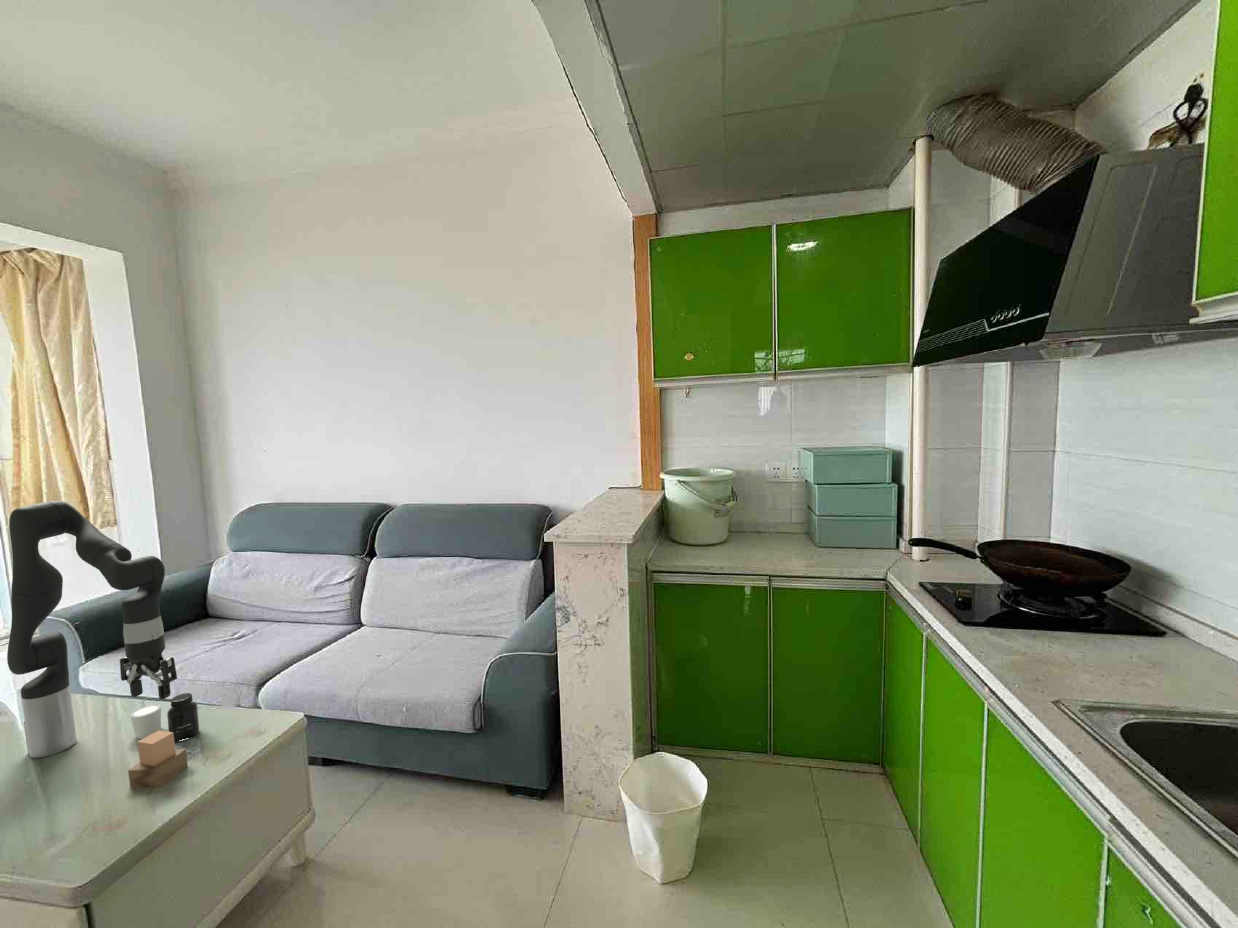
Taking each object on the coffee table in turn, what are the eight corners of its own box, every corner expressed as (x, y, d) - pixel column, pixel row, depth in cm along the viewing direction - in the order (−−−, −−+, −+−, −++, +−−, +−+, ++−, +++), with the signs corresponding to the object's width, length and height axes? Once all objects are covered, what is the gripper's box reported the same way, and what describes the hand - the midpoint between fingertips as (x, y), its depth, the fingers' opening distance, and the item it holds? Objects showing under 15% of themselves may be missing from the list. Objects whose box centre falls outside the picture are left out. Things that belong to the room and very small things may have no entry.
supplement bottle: (182, 744, 150) (178, 704, 149) (163, 742, 151) (159, 702, 150) (205, 730, 157) (201, 691, 155) (187, 728, 158) (183, 690, 157)
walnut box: (130, 789, 132) (128, 770, 132) (157, 767, 140) (155, 750, 140) (162, 787, 132) (160, 768, 132) (187, 766, 140) (185, 748, 140)
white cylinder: (161, 734, 155) (159, 711, 155) (130, 742, 151) (127, 719, 151) (165, 723, 161) (162, 701, 160) (135, 731, 157) (132, 709, 156)
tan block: (140, 763, 134) (137, 741, 134) (161, 751, 139) (158, 730, 138) (155, 766, 133) (152, 744, 132) (175, 753, 138) (173, 732, 137)
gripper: (104, 640, 130) (112, 702, 132) (152, 643, 128) (159, 706, 129) (136, 628, 138) (143, 687, 139) (182, 631, 135) (188, 690, 137)
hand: (151, 696), depth 134 cm, fingers open, 8 cm apart
